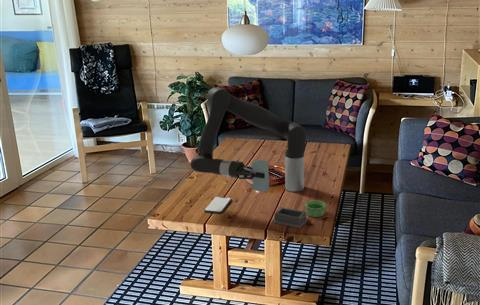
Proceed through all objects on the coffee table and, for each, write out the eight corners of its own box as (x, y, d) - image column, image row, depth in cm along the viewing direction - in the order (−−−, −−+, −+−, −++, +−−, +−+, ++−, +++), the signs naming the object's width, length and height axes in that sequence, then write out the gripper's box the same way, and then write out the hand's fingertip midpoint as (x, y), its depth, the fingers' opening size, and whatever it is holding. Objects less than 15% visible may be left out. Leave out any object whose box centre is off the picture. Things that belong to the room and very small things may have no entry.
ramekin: (301, 214, 231) (301, 205, 230) (312, 207, 237) (312, 198, 236) (318, 219, 225) (318, 210, 224) (329, 212, 232) (329, 203, 230)
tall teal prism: (256, 187, 230) (256, 159, 226) (268, 189, 227) (268, 161, 223) (253, 189, 227) (252, 161, 223) (265, 192, 224) (264, 163, 220)
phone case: (221, 215, 234) (232, 200, 248) (221, 212, 233) (232, 197, 248) (203, 213, 237) (215, 199, 251) (203, 210, 236) (215, 196, 250)
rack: (280, 214, 231) (280, 206, 230) (308, 219, 225) (308, 211, 224) (272, 222, 224) (272, 213, 223) (300, 228, 218) (300, 219, 217)
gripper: (223, 165, 225) (259, 171, 216) (239, 156, 236) (273, 161, 228) (224, 182, 227) (259, 188, 219) (239, 171, 239) (273, 177, 230)
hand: (266, 174), depth 224 cm, fingers closed on tall teal prism, 3 cm apart
